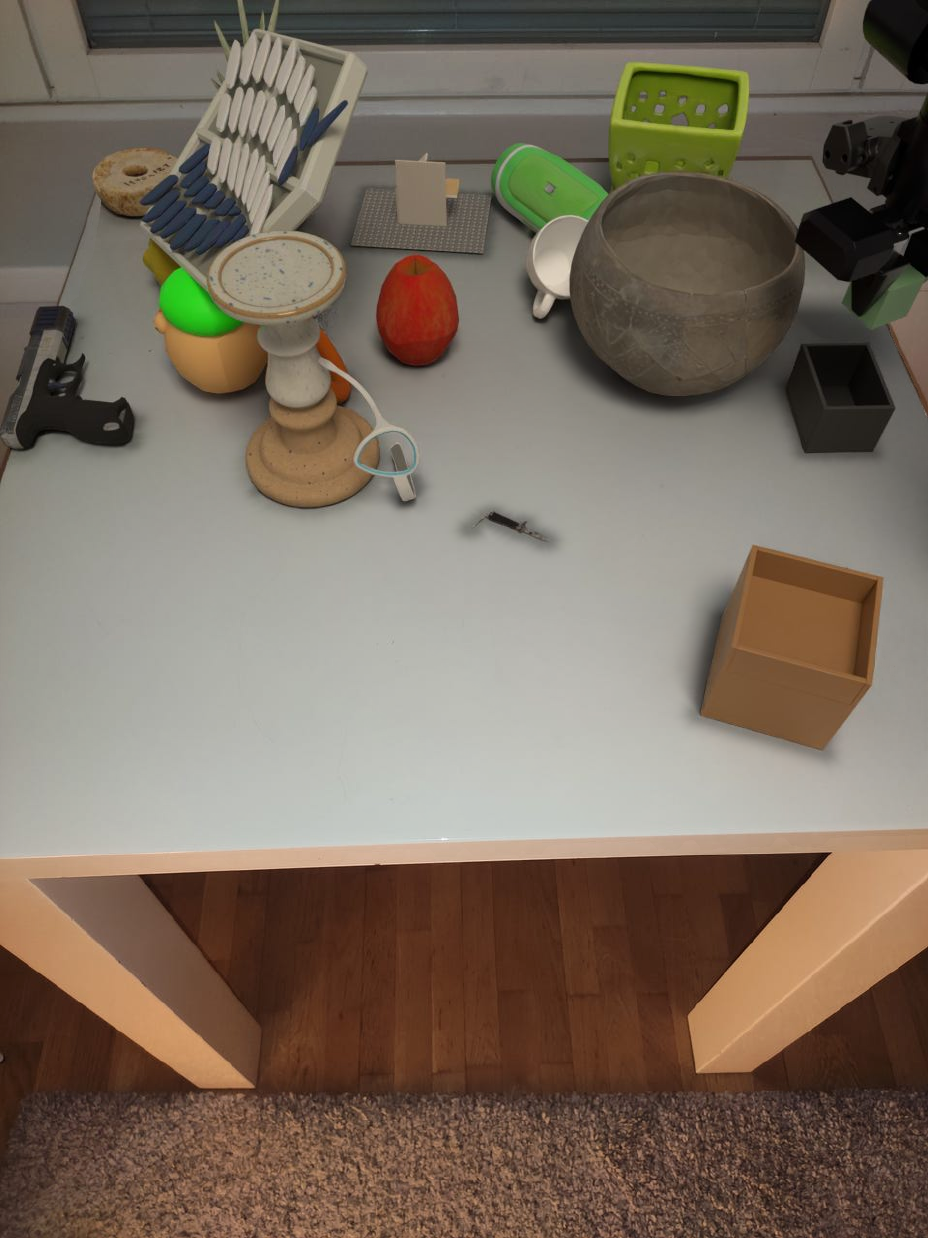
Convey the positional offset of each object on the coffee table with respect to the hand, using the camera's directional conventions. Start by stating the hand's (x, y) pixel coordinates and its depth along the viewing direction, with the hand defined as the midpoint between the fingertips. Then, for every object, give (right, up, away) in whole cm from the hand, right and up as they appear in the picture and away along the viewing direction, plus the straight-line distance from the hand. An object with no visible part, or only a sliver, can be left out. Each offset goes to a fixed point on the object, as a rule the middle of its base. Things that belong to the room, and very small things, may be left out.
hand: (876, 305), depth 76 cm
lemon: (-62, +9, +23) cm, 67 cm away
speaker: (-21, +22, +24) cm, 39 cm away
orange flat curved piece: (-46, -3, +14) cm, 48 cm away
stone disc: (-69, +22, +29) cm, 78 cm away
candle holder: (-48, -11, +9) cm, 50 cm away
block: (0, 0, 0) cm, 0 cm away
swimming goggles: (-44, -11, +2) cm, 46 cm away
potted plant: (-56, +21, +30) cm, 67 cm away
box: (-10, -31, -4) cm, 33 cm away
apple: (-39, +1, +17) cm, 42 cm away
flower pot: (-11, +22, +31) cm, 40 cm away
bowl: (-14, 0, +16) cm, 21 cm away
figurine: (-58, -2, +15) cm, 60 cm away
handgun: (-66, -1, +14) cm, 68 cm away
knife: (-31, -20, +3) cm, 37 cm away
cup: (-26, +11, +22) cm, 35 cm away
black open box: (+1, -7, +12) cm, 14 cm away
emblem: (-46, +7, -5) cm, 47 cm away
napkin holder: (-39, +20, +30) cm, 53 cm away
